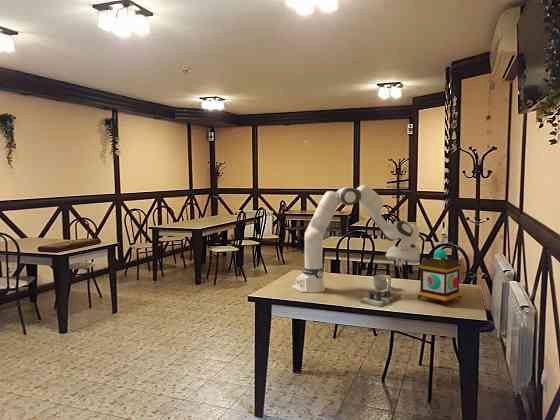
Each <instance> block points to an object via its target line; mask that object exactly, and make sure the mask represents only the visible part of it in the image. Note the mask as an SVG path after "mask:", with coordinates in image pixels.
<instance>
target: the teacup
mask: <svg viewBox="0 0 560 420" xmlns="http://www.w3.org/2000/svg"><path fill="white" fill-rule="evenodd" d="M387 275H388V274H378V275H373V276H372V280H373V287H374V288H375V289H376V291H379V289H383V290H384V289H386V276H387Z"/></svg>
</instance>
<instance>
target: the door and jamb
mask: <svg viewBox="0 0 560 420" xmlns="http://www.w3.org/2000/svg"><path fill="white" fill-rule="evenodd" d="M381 290H383V289H379V290H374V289H372V290H369V291H368V296H366V297H362V298H360V301H359V303H360V304H364V305H369V306H373V307H377V308H381V307H383V306H386V305H388V304H390V303H392V302H395V301H397V300H400V299H401V298H402V294H399V293H395V292H391V293H390V290H388V291H386V295H381V292H380V291H381Z"/></svg>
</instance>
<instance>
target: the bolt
mask: <svg viewBox="0 0 560 420" xmlns="http://www.w3.org/2000/svg"><path fill="white" fill-rule="evenodd" d="M386 275H387V276H386V289H384V290H381V291H380V292H381V295H386V291H388V290H390V293H393V288H392V287H391V285H392V276H391V275H390V274H386Z"/></svg>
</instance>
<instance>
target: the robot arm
mask: <svg viewBox="0 0 560 420" xmlns="http://www.w3.org/2000/svg"><path fill="white" fill-rule="evenodd" d="M358 202H359V203H360V204H361V205H362V206H363V207H364V208H365V209H366V211H367V212H368V215H369V217H370V219H371V220H372V221H373V222H374V224H375V225H376V226H377V228H379V230H380V231H381V233H382V236H384V239H386V240H387V241H389V242H394V241H397V240H398V239H400V242H399V244H398V246H395V245H393V246H390V247H389V248H388V250H387V251H386V253H385V257H386V259H388V260H392V261H395V267H399V268H400V267H402V265H403V264H405V263H406V262H407V263H413V264H417V263H419V260H420V256H421V255H420V254H421V250H420V248H419V246H418V245H416V243H417V242H418V240H419V237H420V234H421V233H420V232H421V231H420V228H419V226H417V225H416V224H414V223H411V224H410V223H407V222H406V221H405V220H399V221H396V222H394V223H392V224H389V223H388V222H387V221H386V220H385V218H384V217H383V216H382V215H381V211H382V210H383V208H384V199H383V198H382V197H381V196H380V195H379V194H378V193H377V192H376V191H375V190H374V189H373V188H371V187H370V186H368V185H367V184H361V185H359V186H358V187H357V188H353V187H351V186H347V185H346V186H341V187H340V188H339V189H337V190H336V191H333V190H332V191H331V190H327V191H326V192H325V193H324V195H323V196H322V197H321V199H320V201H319V203H318V205H317V207H316V209H315V211H314V214H313V216H312V218H311V220H310V222H309V223H308V226H307V227H306V230H305V232H304V267H302V268H301V270H302V272H301V273H300V274H299V276H297V277H296V278H295V284H292V285H291V288H293V289H294V290H297V291H298V292H301V293H322V292H325V291H326V286H325V280H324V268H323V251H324V250H323V249H324V248H323V246H324V244H323V243H324V234H325V232H326V231H327V229H328V227H329V226H330V223H331V221H332V220H333V217H334V215H335V212H336V210H337V208H338V206H340V205H341V204H343V205H346V206H352V205H355V204H356V203H358Z"/></svg>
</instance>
